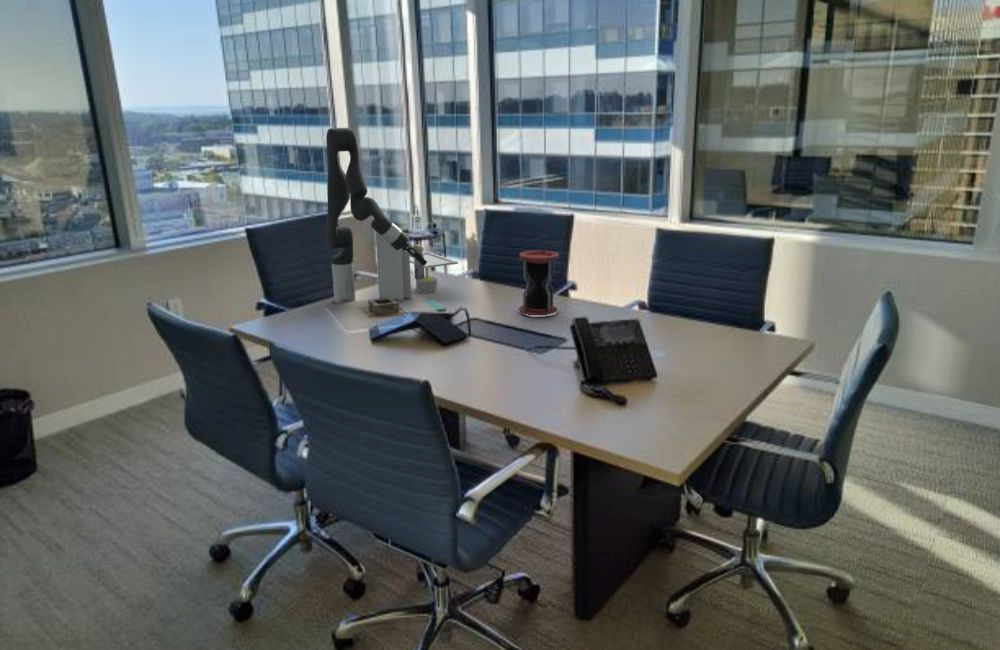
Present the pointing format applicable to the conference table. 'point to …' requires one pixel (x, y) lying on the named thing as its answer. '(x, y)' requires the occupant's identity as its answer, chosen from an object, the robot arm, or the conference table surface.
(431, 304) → the rubber mat
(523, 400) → the conference table surface
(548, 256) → the hourglass
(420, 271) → the steel peg
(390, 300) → the eye block
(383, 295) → the tall grey pillar
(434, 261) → the solar panel model
